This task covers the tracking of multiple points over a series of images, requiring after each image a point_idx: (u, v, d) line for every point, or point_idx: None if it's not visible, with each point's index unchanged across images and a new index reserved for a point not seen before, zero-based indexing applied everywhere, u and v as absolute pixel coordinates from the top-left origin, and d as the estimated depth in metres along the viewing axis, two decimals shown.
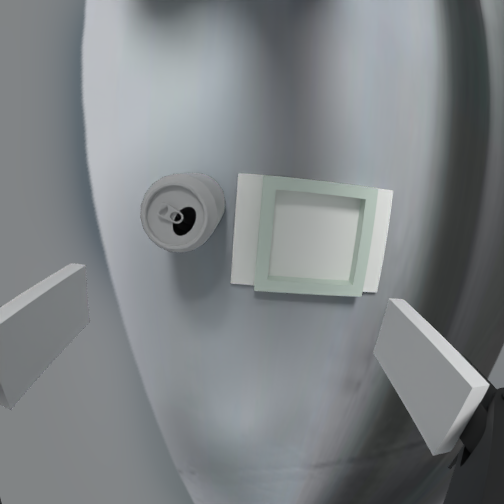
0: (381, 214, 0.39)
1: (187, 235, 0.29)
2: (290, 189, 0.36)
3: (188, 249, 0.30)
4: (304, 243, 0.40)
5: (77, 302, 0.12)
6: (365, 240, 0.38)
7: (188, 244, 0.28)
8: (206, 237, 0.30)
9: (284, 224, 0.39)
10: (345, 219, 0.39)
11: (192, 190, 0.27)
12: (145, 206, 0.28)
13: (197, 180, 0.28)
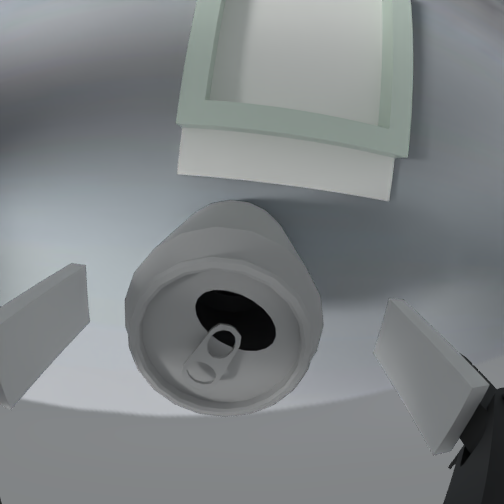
0: None
1: (276, 316, 0.10)
2: (206, 72, 0.16)
3: (316, 309, 0.11)
4: (317, 57, 0.18)
5: (77, 302, 0.12)
6: None
7: (301, 318, 0.10)
8: (288, 260, 0.11)
9: (280, 89, 0.18)
10: None
11: (146, 297, 0.09)
12: (194, 407, 0.11)
13: (135, 275, 0.11)
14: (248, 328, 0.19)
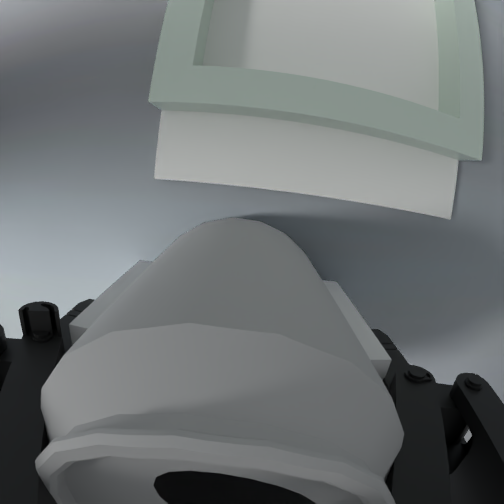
0: None
1: (326, 499, 0.04)
2: (196, 27, 0.10)
3: None
4: (356, 17, 0.11)
5: None
6: None
7: None
8: (360, 394, 0.04)
9: (305, 56, 0.12)
10: None
11: (49, 470, 0.03)
12: None
13: (43, 395, 0.04)
14: None
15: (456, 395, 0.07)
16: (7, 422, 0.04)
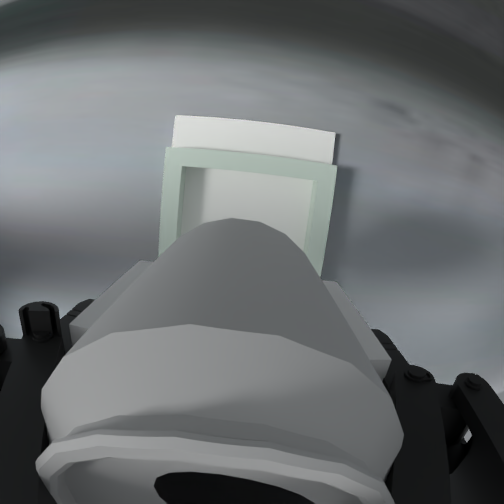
0: (210, 131, 0.26)
1: (325, 499, 0.04)
2: None
3: (394, 458, 0.04)
4: None
5: None
6: (245, 163, 0.25)
7: None
8: (360, 395, 0.04)
9: None
10: (218, 188, 0.27)
11: (50, 471, 0.03)
12: None
13: (43, 395, 0.04)
14: None
15: (456, 395, 0.07)
16: (7, 422, 0.04)
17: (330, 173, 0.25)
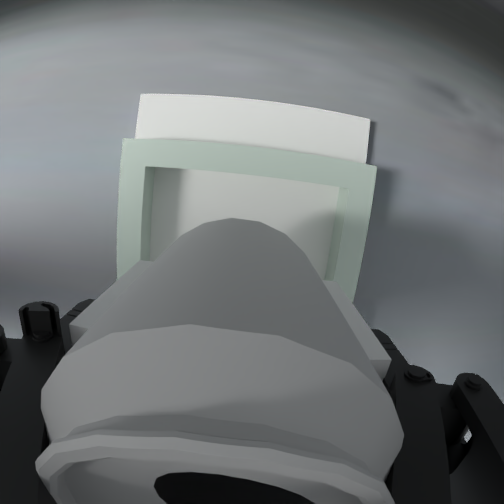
0: (189, 115, 0.17)
1: (326, 500, 0.04)
2: None
3: None
4: None
5: None
6: (239, 160, 0.16)
7: None
8: (360, 395, 0.04)
9: None
10: (201, 198, 0.18)
11: (50, 471, 0.03)
12: None
13: (43, 396, 0.04)
14: None
15: (456, 395, 0.07)
16: (7, 422, 0.04)
17: (367, 177, 0.16)
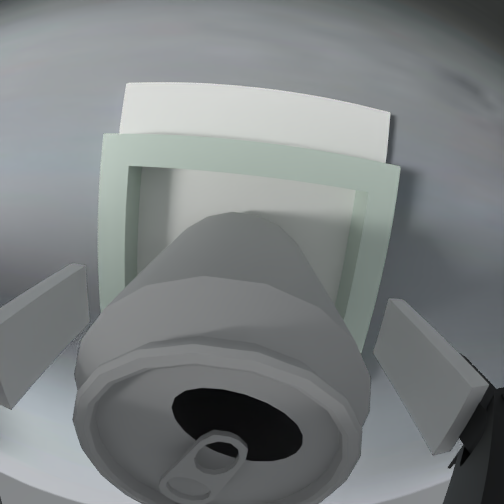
0: (181, 105, 0.15)
1: (305, 421, 0.06)
2: None
3: (364, 397, 0.06)
4: None
5: (77, 302, 0.12)
6: (240, 158, 0.13)
7: (347, 429, 0.05)
8: (327, 332, 0.06)
9: None
10: (194, 203, 0.16)
11: (90, 396, 0.05)
12: None
13: (82, 345, 0.06)
14: None
15: None
16: None
17: (389, 179, 0.14)
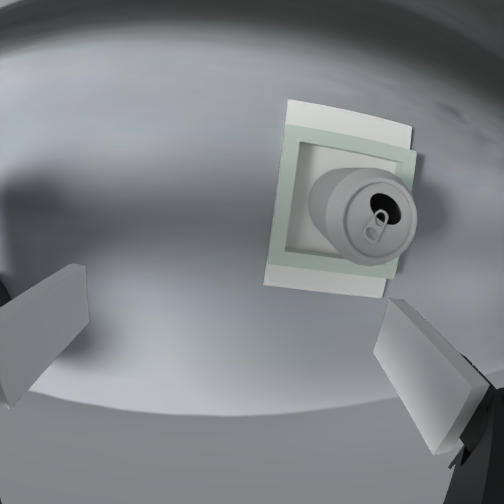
0: (318, 116, 0.30)
1: (402, 207, 0.21)
2: (285, 234, 0.32)
3: None
4: None
5: (77, 302, 0.12)
6: (350, 143, 0.29)
7: (413, 207, 0.21)
8: (403, 185, 0.22)
9: None
10: (324, 163, 0.32)
11: (352, 193, 0.21)
12: (363, 257, 0.22)
13: (336, 187, 0.22)
14: None
15: None
16: None
17: (412, 157, 0.29)
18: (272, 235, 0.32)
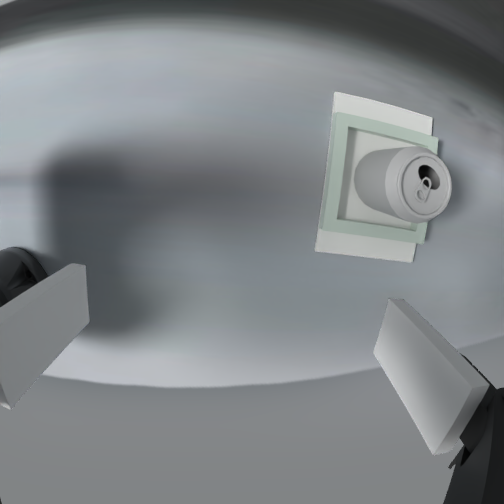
0: (359, 106, 0.35)
1: (440, 176, 0.26)
2: (337, 204, 0.36)
3: None
4: None
5: (77, 302, 0.12)
6: (388, 129, 0.33)
7: (448, 176, 0.25)
8: None
9: (367, 209, 0.38)
10: (365, 146, 0.36)
11: (407, 163, 0.25)
12: (415, 213, 0.26)
13: (392, 160, 0.26)
14: None
15: None
16: None
17: (434, 142, 0.34)
18: (326, 205, 0.36)
